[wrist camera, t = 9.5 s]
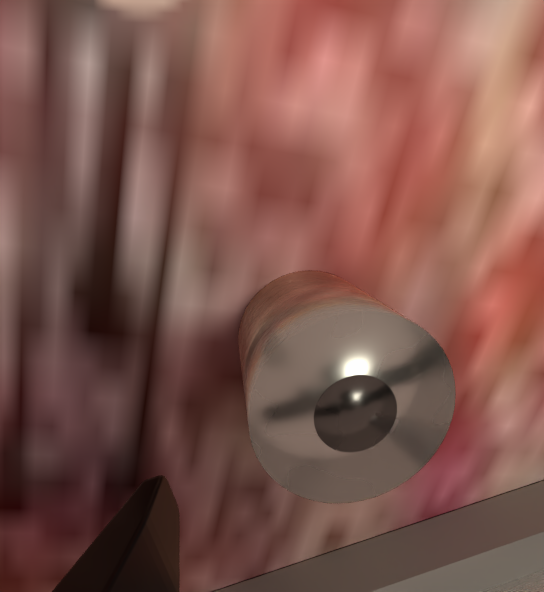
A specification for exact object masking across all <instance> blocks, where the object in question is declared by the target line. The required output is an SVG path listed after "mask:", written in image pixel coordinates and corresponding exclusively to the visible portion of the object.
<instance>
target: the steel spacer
mask: <svg viewBox="0 0 544 592" xmlns="http://www.w3.org/2000/svg"><path fill="white" fill-rule="evenodd" d="M238 346H239V355H240V363H241V371H242V379H243V387H244V395H245V403H246V411H247V419H248V427H249V435H250V439H251V443H252V447H253V449H254V452H255V454H256V457H257V459H258V460H259V462H260V464H261V465H262V467H263V468H264V470H265V471H266V472H267V473H268V474H269V476H270V477H271V478H272V479H274V480H275V481H276V482H277V483H278V484H279V485H281V486H282V487H284V488H285V489H287V490H288V491H290V492H292V493H294V494H296V495H298V496H300V497H303V498H306V499H309V500H313V501H318V502H324V503H351V502H357V501H363V500H366V499H370V498H373V497H376V496H379V495H381V494H384V493H386V492H388V491H390V490H392V489H394V488H396V487H398V486H399V485H401V484H402V483H404V482H406V481H407V480H409V479H410V478H411V477H412V476H413V475H415V474H416V473H417V472H418V471H419V470H420V469H421V468H422V467H423V466H424V465H425V464H426V463H427V462H428V461H429V460H430V459H431V457H432V456H433V455H434V454H435V452H436V451H437V449H438V448H439V446H440V445H441V443H442V442H443V439H444V437H445V435H446V433H447V431H448V429H449V426H450V423H451V420H452V416H453V412H454V407H455V395H456V394H455V381H454V376H453V371H452V368H451V366H450V363H449V360H448V358H447V356H446V355H445V353H444V351H443V349H442V348H441V347H440V345H439V344H438V343H437V341H436V340H435V339H434V338H433V337H432V336H431V335H430V334H429V333H428V332H427V331H425V330H424V329H422V328H421V327H420V326H418V325H417V324H415V323H414V322H412V321H410V320H409V319H407V318H405V317H404V316H402V315H401V314H399V313H397V312H396V311H394V310H393V309H391V308H389V307H388V306H386V305H384V304H383V303H381V302H380V301H378V300H376V299H375V298H373V297H371V296H370V295H368V294H367V293H365V292H363V291H362V290H360V289H359V288H357V287H355V286H354V285H352V284H350V283H349V282H347V281H346V280H344V279H342V278H340V277H338V276H336V275H333V274H330V273H327V272H322V271H313V270H307V271H298V272H293V273H289V274H287V275H284V276H281V277H279V278H277V279H275V280H273V281H272V282H270V283H269V284H267V285H266V286H265V287H264V288H262V289H261V290H260V291H259V292H258V293H257V294H256V295H255V297H254V298H253V299H252V300H251V302H250V303H249V305H248V306H247V308H246V310H245V312H244V314H243V317H242V320H241V323H240V327H239V333H238Z"/></svg>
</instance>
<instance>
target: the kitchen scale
mask: <svg viewBox="0 0 544 592" xmlns="http://www.w3.org/2000/svg"><path fill="white" fill-rule="evenodd" d="M214 592H544V481H541V482H538V483H535V484H532V485H529V486H526V487H523V488H520V489H517V490H514V491H511V492H508V493H505V494H502V495H499V496H496V497H493V498H490V499H487V500H484V501H481V502H478V503H475V504H472V505H469V506H466V507H463V508H461V509H458V510H455V511H452V512H449V513H446V514H443V515H440V516H437V517H434V518H431V519H428V520H425V521H422V522H419V523H416V524H413V525H410V526H407V527H404V528H401V529H398V530H395V531H392V532H389V533H386V534H383V535H380V536H377V537H374V538H371V539H368V540H366V541H363V542H360V543H357V544H354V545H351V546H348V547H345V548H342V549H339V550H336V551H333V552H330V553H327V554H324V555H321V556H318V557H315V558H312V559H309V560H306V561H303V562H300V563H297V564H294V565H291V566H288V567H285V568H282V569H279V570H276V571H273V572H271V573H268V574H265V575H262V576H259V577H256V578H253V579H250V580H247V581H244V582H241V583H238V584H235V585H232V586H229V587H226V588H223V589H220V590H217V591H214Z"/></svg>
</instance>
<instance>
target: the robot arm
mask: <svg viewBox="0 0 544 592" xmlns="http://www.w3.org/2000/svg"><path fill="white" fill-rule="evenodd" d="M52 592H179V509H178V505H177V503H176V500H175V498H174V495H173V493H172V490H171V488H170V485H169V483H168V481H167V479H166V478H165V476H163V475H160V476H157V477H153V478H150V479H147V480H145V481H143V483H142V484H141V485H140V486H139V487H138V488H137V490H136V491H135V492H134V493H133V494H132V496H131V497H130V498H129V499H128V500H127V502H126V503H125V504H124V505H123V506H122V508H121V509H120V510H119V511H118V513H117V514H116V515H115V516H114V517H113V519H112V520H111V521H110V522H109V523H108V525H107V526H106V527H105V528H104V529H103V531H102V532H101V533H100V534H99V535H98V537H97V538H96V539H95V540H94V542H93V543H92V544H91V545H90V546H89V548H88V549H87V550H86V551H85V552H84V554H83V555H82V556H81V557H80V558H79V560H78V561H77V562H76V563H75V564H74V566H73V567H72V568H71V569H70V571H69V572H68V573H67V574H66V575H65V577H64V578H63V579H62V580H61V581H60V583H59V584H58V585H57V586H56V587H55V589H54V590H53V591H52Z"/></svg>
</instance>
